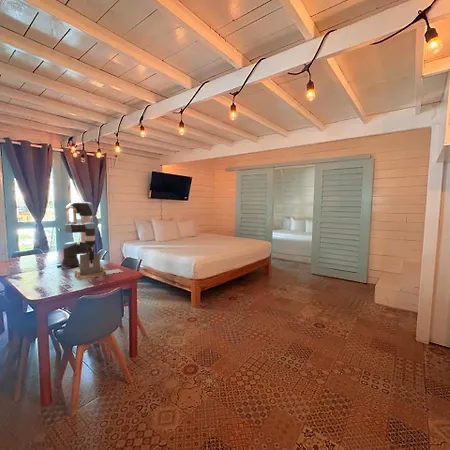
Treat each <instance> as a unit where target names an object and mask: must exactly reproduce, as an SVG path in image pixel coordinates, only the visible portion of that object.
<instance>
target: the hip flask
mask: <svg viewBox="0 0 450 450" xmlns="http://www.w3.org/2000/svg"><path fill="white" fill-rule="evenodd" d="M89 259H90V255H89V251H88V254H79V272H80V275H88V274H94V273H99V272H100V266H101V253H100V252H94V259H93V267H89Z"/></svg>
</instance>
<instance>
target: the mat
mask: <svg viewBox="0 0 450 450" xmlns="http://www.w3.org/2000/svg"><path fill="white" fill-rule="evenodd" d="M119 272H120V273H124V271H123V270H121V269H120V268H115V269H114V268H113V269H109V270H106V275H108V274H109V275H114V274H113V273H115V274H119Z"/></svg>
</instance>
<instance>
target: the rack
mask: <svg viewBox="0 0 450 450" xmlns="http://www.w3.org/2000/svg"><path fill="white" fill-rule="evenodd" d="M106 268H107V267H104V266H103V265H100V272H99V273H94V274H88V275H80V270H78V269H74V277H75V278H76V279H77V280H82V279H88V278H94V277H100V276H105V275H106V271H107V269H106Z"/></svg>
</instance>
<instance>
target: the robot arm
mask: <svg viewBox="0 0 450 450" xmlns="http://www.w3.org/2000/svg"><path fill="white" fill-rule="evenodd" d="M94 207H95V206H94V205H93V203H92V202H88V201H72V202H70V203H69V204H67V205H66V206H65V208H64V213H65V214H66V223H65V224H64V232H65V233H67V234H68V233H69V234H74V233H76V234H77V233H81V234H80V240H79V242H78V241H69V242H65V243H64V244H63V247H62V248H63V249H62V250H63V258H62V261H61V266H62V267H65V266H68V267H74V266H80V259H79V258H78V255H83V254H88V251H89V255H90V259H89V267H93V259H94V253H95V248H94V247H95V245H96V222H91V221H92V216H93V215H94V214H95V209H94ZM77 214H78V215H79V217H80V223H78V221H77Z"/></svg>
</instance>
